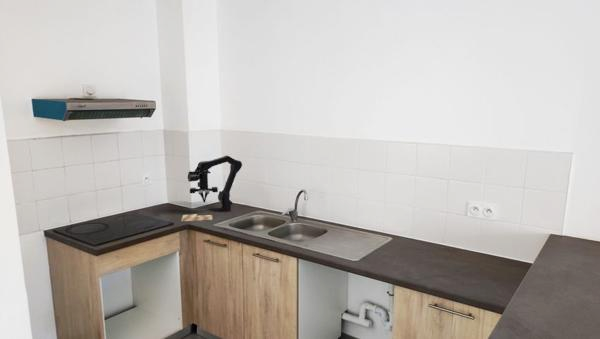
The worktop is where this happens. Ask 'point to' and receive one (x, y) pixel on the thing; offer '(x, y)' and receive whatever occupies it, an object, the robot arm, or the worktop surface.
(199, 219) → the floor strip
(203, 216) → the plank
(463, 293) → the worktop surface
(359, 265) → the worktop surface
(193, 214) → the plank
